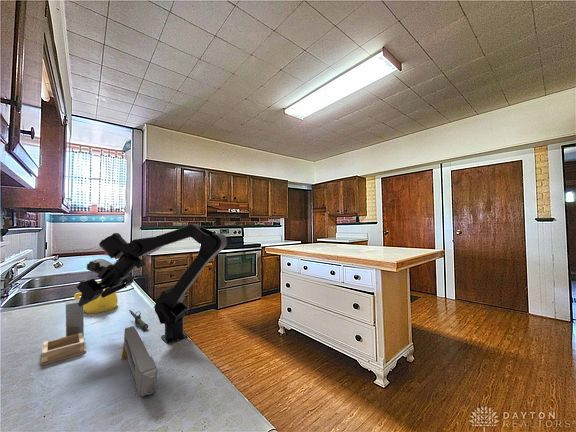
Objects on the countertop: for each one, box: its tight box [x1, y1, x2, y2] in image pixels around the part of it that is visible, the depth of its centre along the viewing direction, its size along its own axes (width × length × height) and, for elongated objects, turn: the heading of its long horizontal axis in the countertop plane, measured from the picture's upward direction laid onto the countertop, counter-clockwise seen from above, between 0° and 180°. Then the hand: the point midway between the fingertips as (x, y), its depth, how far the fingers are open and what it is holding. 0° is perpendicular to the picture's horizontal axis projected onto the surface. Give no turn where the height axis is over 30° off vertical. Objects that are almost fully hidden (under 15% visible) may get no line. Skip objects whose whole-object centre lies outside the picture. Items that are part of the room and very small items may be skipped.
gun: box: [120, 325, 158, 397], centre depth 64 cm, size 3×25×15 cm, turn 43°
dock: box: [40, 333, 87, 366], centre depth 75 cm, size 10×10×3 cm
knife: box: [128, 309, 149, 331], centre depth 96 cm, size 19×2×5 cm, turn 49°
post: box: [65, 299, 85, 338], centre depth 86 cm, size 4×4×12 cm
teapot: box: [73, 281, 119, 315], centre depth 114 cm, size 22×16×11 cm
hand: (91, 300), depth 85 cm, fingers open, 9 cm apart
